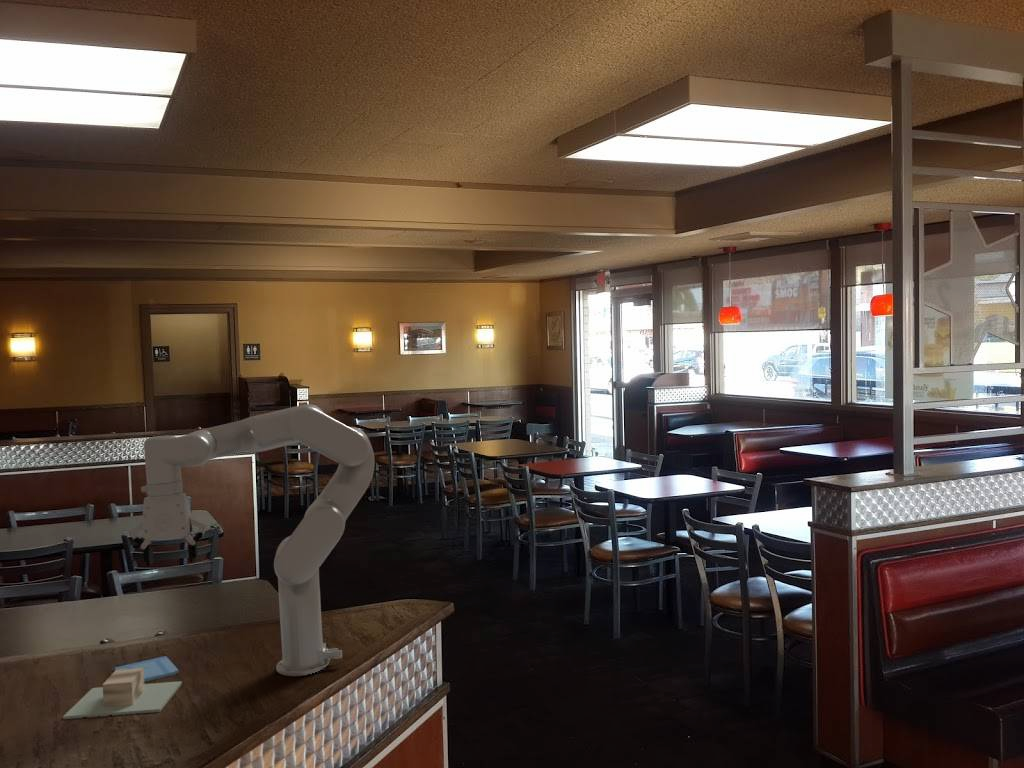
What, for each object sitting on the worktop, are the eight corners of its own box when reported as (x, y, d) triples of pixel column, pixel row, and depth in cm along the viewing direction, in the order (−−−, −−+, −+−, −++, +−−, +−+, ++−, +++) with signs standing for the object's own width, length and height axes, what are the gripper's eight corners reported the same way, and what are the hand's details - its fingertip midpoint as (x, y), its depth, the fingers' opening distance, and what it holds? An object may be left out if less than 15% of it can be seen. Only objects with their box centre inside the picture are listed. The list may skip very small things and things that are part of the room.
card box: (133, 704, 195) (131, 682, 195) (104, 707, 194) (102, 684, 194) (145, 689, 204) (143, 667, 204) (117, 691, 203) (115, 669, 203)
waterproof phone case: (179, 675, 215) (179, 670, 215) (125, 688, 208) (125, 683, 208) (166, 660, 226) (166, 655, 226) (114, 672, 219) (114, 667, 219)
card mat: (181, 683, 208) (181, 681, 208) (160, 711, 192) (159, 709, 192) (92, 690, 207) (92, 687, 206) (63, 719, 191) (62, 716, 191)
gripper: (120, 495, 203) (127, 570, 204) (199, 489, 204) (205, 563, 205) (132, 490, 211) (138, 562, 211) (207, 484, 212) (213, 556, 213)
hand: (171, 563), depth 208 cm, fingers open, 9 cm apart
